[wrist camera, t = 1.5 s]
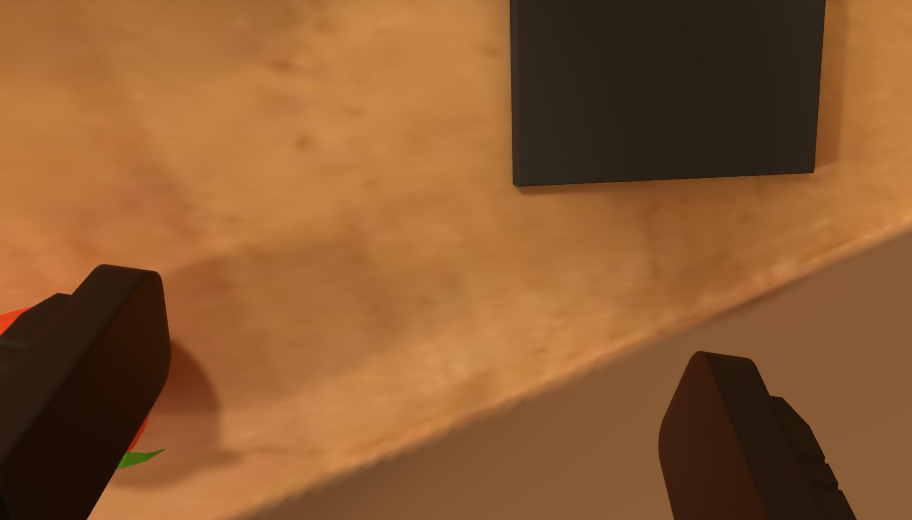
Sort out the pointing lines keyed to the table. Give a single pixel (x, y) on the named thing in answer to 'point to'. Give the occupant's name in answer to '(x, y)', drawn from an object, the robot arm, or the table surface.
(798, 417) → the robot arm
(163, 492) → the table surface
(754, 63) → the coaster
